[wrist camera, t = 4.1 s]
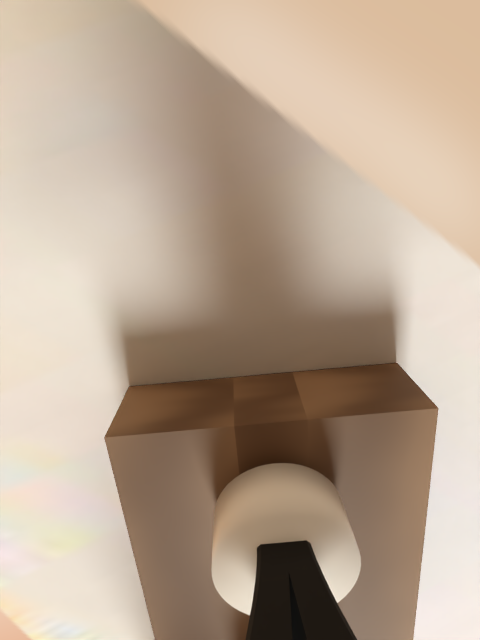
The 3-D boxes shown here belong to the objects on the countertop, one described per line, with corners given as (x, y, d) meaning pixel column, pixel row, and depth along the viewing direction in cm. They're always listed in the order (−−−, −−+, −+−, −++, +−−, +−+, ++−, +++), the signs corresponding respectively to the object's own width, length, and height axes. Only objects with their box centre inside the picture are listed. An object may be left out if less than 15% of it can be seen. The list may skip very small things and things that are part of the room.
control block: (397, 362, 14) (438, 408, 11) (381, 614, 19) (407, 690, 16) (129, 386, 14) (104, 437, 11) (181, 632, 19) (172, 710, 16)
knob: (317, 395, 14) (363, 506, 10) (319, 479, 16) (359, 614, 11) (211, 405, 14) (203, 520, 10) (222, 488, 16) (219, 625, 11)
